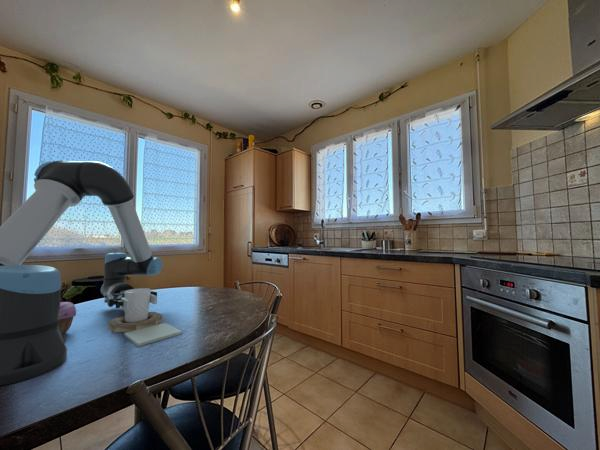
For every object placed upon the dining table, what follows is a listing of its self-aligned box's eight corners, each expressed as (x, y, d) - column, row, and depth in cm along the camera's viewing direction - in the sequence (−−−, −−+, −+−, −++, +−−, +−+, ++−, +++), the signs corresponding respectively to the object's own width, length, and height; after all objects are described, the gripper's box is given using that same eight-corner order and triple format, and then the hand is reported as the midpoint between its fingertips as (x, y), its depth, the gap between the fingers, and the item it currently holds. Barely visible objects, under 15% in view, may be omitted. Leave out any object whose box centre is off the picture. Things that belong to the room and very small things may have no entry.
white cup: (140, 323, 83) (141, 292, 83) (117, 323, 83) (118, 292, 83) (154, 315, 90) (155, 288, 91) (133, 315, 91) (134, 288, 91)
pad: (181, 333, 78) (181, 331, 78) (137, 346, 68) (138, 343, 68) (165, 325, 85) (165, 322, 85) (124, 335, 76) (124, 333, 76)
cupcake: (28, 338, 74) (30, 304, 74) (62, 328, 82) (63, 297, 83) (49, 341, 72) (51, 306, 72) (82, 330, 80) (84, 299, 81)
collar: (150, 330, 81) (150, 324, 81) (99, 333, 78) (100, 326, 78) (166, 316, 95) (166, 311, 95) (124, 318, 92) (124, 313, 92)
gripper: (149, 298, 106) (173, 307, 92) (87, 308, 90) (104, 321, 76) (150, 280, 107) (173, 286, 92) (88, 287, 91) (105, 296, 76)
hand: (142, 302), depth 84 cm, fingers closed on white cup, 8 cm apart
